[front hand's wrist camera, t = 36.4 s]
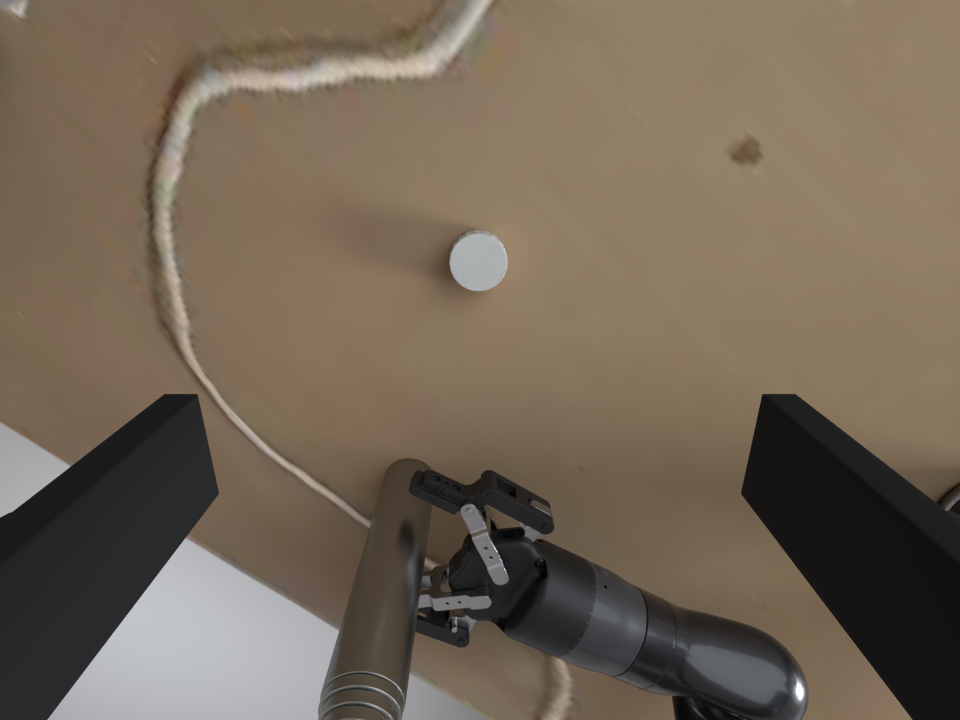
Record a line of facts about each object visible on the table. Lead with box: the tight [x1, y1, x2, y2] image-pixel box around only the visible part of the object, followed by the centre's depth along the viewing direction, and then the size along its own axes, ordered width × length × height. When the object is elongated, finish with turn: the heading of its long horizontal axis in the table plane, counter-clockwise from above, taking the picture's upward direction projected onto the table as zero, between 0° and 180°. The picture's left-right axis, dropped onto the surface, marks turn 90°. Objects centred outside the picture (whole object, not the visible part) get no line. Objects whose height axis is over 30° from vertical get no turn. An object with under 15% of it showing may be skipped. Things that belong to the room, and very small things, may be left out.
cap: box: [449, 230, 507, 291], centre depth 38 cm, size 4×4×2 cm
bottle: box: [318, 459, 432, 720], centre depth 34 cm, size 4×4×25 cm
